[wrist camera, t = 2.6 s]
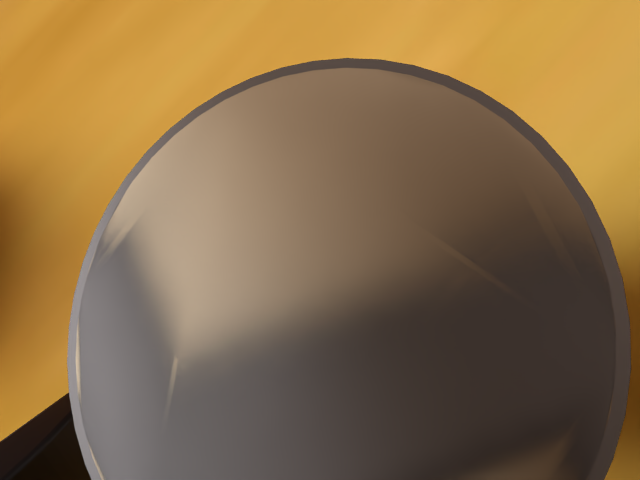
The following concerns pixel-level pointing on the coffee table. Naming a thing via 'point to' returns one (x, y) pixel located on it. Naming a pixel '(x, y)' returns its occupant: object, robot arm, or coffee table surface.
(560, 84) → the coffee table surface
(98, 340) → the lidded tumbler
